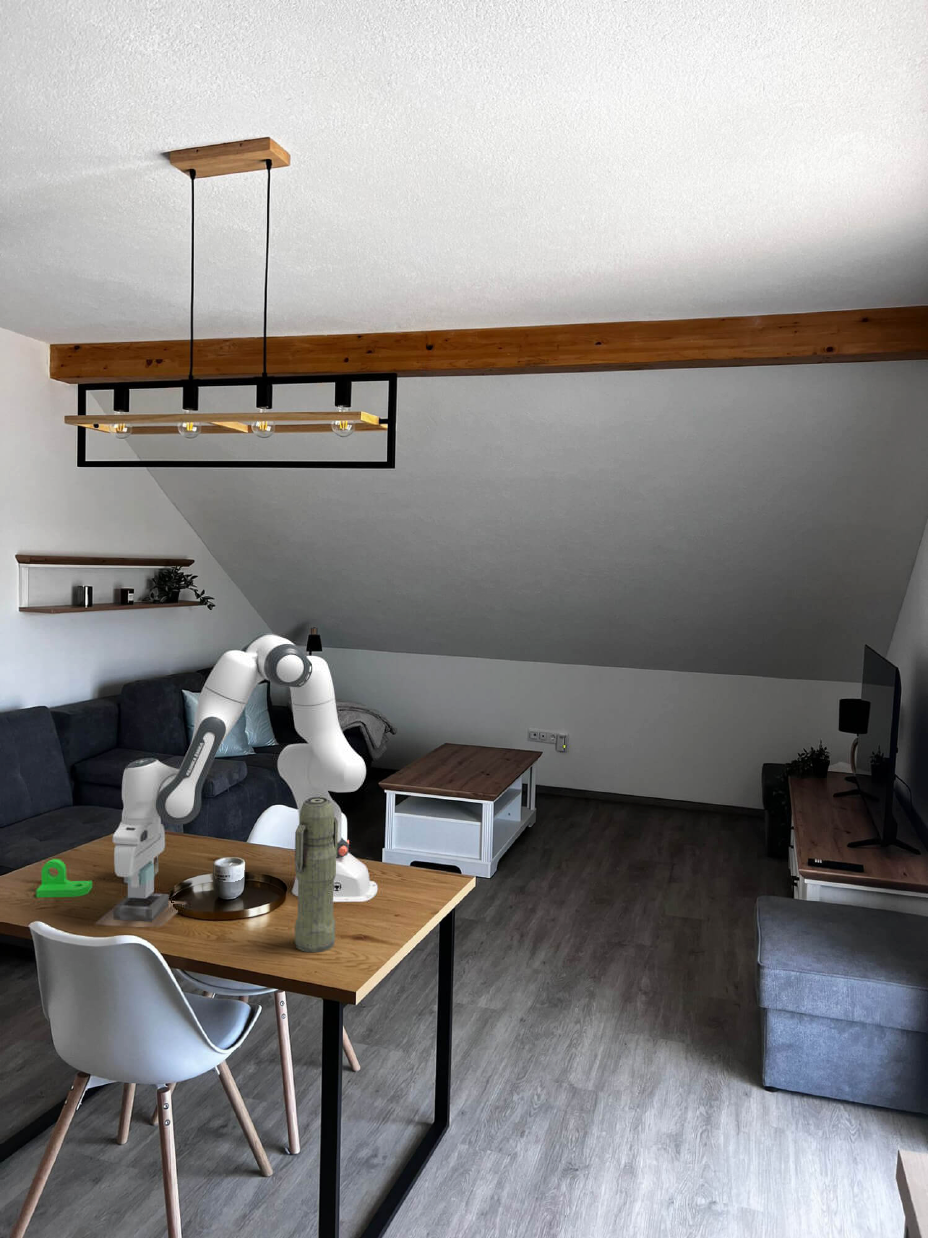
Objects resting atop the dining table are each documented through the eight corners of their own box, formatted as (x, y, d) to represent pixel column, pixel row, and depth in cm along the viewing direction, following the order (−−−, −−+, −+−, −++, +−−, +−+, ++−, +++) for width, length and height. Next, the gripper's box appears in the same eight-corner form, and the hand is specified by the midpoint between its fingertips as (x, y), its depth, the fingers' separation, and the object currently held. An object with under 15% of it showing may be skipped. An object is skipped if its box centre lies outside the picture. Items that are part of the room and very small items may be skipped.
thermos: (346, 946, 208) (349, 797, 205) (314, 967, 198) (317, 809, 195) (315, 937, 213) (317, 790, 210) (282, 957, 202) (284, 803, 199)
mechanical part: (36, 898, 231) (36, 867, 230) (44, 889, 237) (43, 859, 236) (85, 897, 233) (85, 866, 232) (92, 888, 238) (92, 858, 238)
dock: (186, 905, 228) (186, 890, 228) (159, 933, 213) (159, 916, 212) (125, 901, 230) (125, 886, 230) (93, 928, 214) (93, 912, 214)
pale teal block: (153, 891, 223) (154, 863, 222) (145, 898, 218) (146, 870, 217) (136, 890, 223) (136, 862, 222) (127, 897, 218) (127, 869, 218)
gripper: (147, 813, 230) (147, 866, 231) (109, 838, 209) (109, 897, 210) (171, 814, 229) (171, 867, 230) (135, 840, 209) (135, 898, 210)
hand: (141, 882), depth 220 cm, fingers closed on pale teal block, 4 cm apart
